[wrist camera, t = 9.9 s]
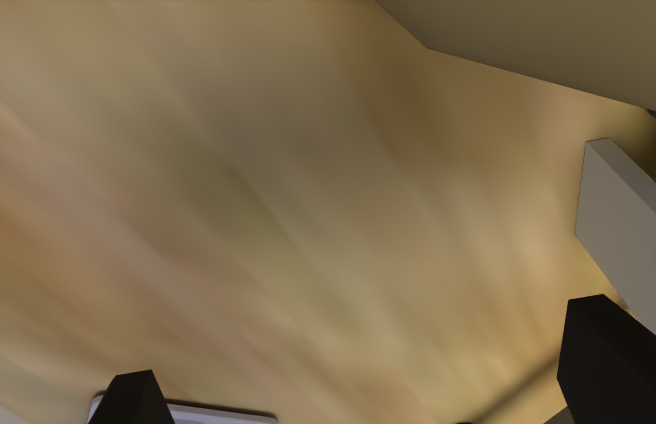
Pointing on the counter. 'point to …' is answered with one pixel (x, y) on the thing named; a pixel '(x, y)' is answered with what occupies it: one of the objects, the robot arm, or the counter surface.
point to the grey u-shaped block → (620, 225)
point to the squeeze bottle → (547, 40)
